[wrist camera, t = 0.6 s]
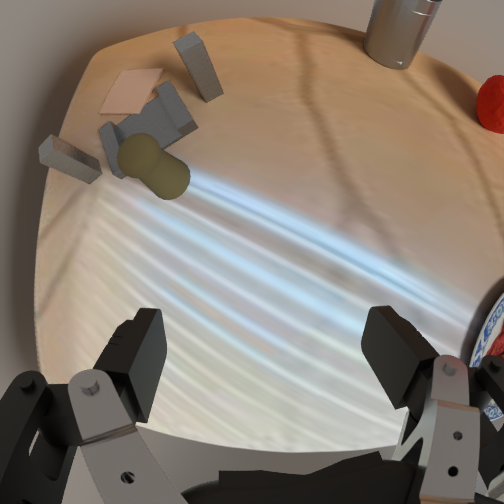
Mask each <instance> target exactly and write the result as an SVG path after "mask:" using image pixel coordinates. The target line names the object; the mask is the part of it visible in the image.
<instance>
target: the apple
mask: <svg viewBox="0 0 504 504" xmlns="http://www.w3.org/2000/svg"><path fill="white" fill-rule="evenodd" d="M476 109H477V116H478V119H479V121H480V123H481V124H482V125H483V126H484V127H485V128H486V129H488V130H490V131H492V132H495V133H500V134H504V76H502V75H495V76H492V77H490V78H488V80H487V81H486V82H485V83H484V84H483V85H482V87H481V88H480V90H479V93H478V96H477V104H476Z"/></svg>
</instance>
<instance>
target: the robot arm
mask: <svg viewBox="0 0 504 504" xmlns="http://www.w3.org/2000/svg"><path fill="white" fill-rule="evenodd" d="M441 2H442V0H375V2H374V6H373V9H372V14H371V17H370V21H369V25H368V28H367V32H366V35H365V39H364V44H363V45H364V49H365V51H366V52H367V53H368V55H369V56H370V57H371V58H373V59H374V60H375V61H377V62H378V63H380V64H382V65H384V66H386V67H389V68H393V69H406V68H408V67H409V66H410V65H411V63H412V61H413V59H414V57H415V55H416V53H417V51H418V50H419V47H420V46H421V44H422V42H423V40H424V38H425V36H426V34H427V32H428V30H429V28H430V26H431V23H432V21H433V19H434V17H435V15H436V13H437V11H438V8H439V6H440V4H441ZM361 348H362V352H363V354H364V356H365V358H366V359H367V361H368V363H369V364H370V366H371V368H372V370H373V371H374V373H375V375H376V376H377V378H378V380H379V382H380V383H381V385H382V387H383V389H384V390H385V392H386V394H387V396H388V397H389V399H390V401H391V403H392V405H393V406H394V408H395V410H396V409H399V408H403V407H406V406H407V407H408V409H409V410H408V411H407V413H406V415H405V419H404V422H403V426H402V430H401V433H400V437H399V440H398V444H397V447H396V450H395V453H394V455H393V457H392V459H391V460H382V458H381V455H380V453H379V451H377V452H373V453H369V454H365V455H361V456H357V457H353V458H349V459H345V460H342V461H340V462H338V463H335V464H333V465H331V466H328V467H326V468H323V469H321V470H319V471H316V472H313V473H311V474H307V475H297V474H286V473H278V472H270V471H262V470H257V471H219V480H215V481H210V482H206V483H202V484H199V485H197V486H194V487H191V488H189V489H187V490H185V491H183V492H182V493H179V491H178V490H177V489H176V487H175V486H174V485H173V484H172V482H171V481H170V480H169V478H168V477H167V475H166V474H165V472H164V471H163V470H162V468H161V467H160V465H159V464H158V462H157V461H156V459H155V458H154V456H153V455H152V453H151V452H150V450H149V448H148V447H147V445H146V443H145V442H144V440H143V439H142V437H141V435H140V433H139V432H138V430H137V428H136V427H135V424H136V422H141V423H147V422H148V418H149V414H150V411H151V407H152V404H153V400H154V397H155V393H156V390H157V386H158V383H159V379H160V376H161V373H162V369H163V366H164V363H165V360H166V355H167V342H166V336H165V330H164V324H163V317H162V312H161V310H160V309H155V308H140V309H139V310H138V312H137V314H136V316H135V317H134V319H133V320H126V321H125V322H124V323H122V324H121V325H119V326H118V327H117V329H116V330H115V332H114V334H113V335H112V337H111V338H110V340H109V342H108V344H107V345H106V347H105V348H104V350H103V352H102V353H101V355H100V357H99V358H98V360H97V362H96V364H95V365H94V367H93V369H89V370H84V371H81V372H79V373H77V374H76V375H75V376H73V377H72V379H71V380H70V382H69V384H48V383H47V381H46V379H45V377H44V376H43V375H42V374H41V373H40V372H37V371H26V372H23V373H21V374H19V375H18V376H17V377H16V378H15V379H14V380H13V381H12V383H11V384H10V386H9V387H8V389H7V390H6V392H5V394H4V395H3V397H2V398H1V400H0V504H61V503H62V499H63V495H64V490H65V487H66V483H67V479H68V476H69V473H70V469H71V466H72V462H73V459H74V456H75V453H76V449H77V447H78V446H80V448H81V451H82V454H83V457H84V459H85V462H86V464H87V467H88V469H89V471H90V474H91V476H92V479H93V481H94V483H95V485H96V487H97V490H98V492H99V494H100V496H101V498H102V500H103V502H104V504H504V424H503V426H502V428H501V429H500V430H499V431H498V432H497V430H496V429H495V427H494V425H493V424H492V422H491V421H490V419H489V418H488V416H487V415H486V413H485V412H484V410H485V409H486V407H487V406H488V404H489V403H490V401H491V400H492V399H493V400H494V402H495V403H496V404H497V406H498V407H499V409H500V410H501V412H502V413H503V415H504V360H503V359H501V358H500V357H498V356H495V355H485V356H484V357H483V358H482V360H481V362H480V364H479V366H478V367H466V365H465V364H464V363H463V362H462V361H461V360H460V359H458V358H457V357H454V356H451V355H441V356H440V355H439V354H438V352H437V351H436V350H435V349H434V348H433V347H432V346H431V345H430V343H429V342H428V341H427V340H426V339H425V338H424V337H422V335H421V334H420V332H419V331H417V329H416V328H415V327H414V326H413V325H412V324H411V323H410V322H409V321H407V320H406V319H404V318H402V317H401V316H399V315H398V314H397V313H396V312H395V311H394V309H393V308H392V307H391V306H388V305H387V306H375V307H371V308H370V310H369V313H368V317H367V321H366V325H365V328H364V332H363V336H362V340H361ZM37 430H38V431H39V435H38V437H37V439H36V442H35V444H34V446H33V449H32V451H31V454H30V456H29V448H30V446H31V443H32V441H33V439H34V436H35V434H36V432H37ZM478 471H479V472H480V475H481V476H482V479H483V481H484V483H485V485H486V487H487V490H488V493H487V494H486V495H485V496H484V495H481V494H479V493H476V492H475V488H476V481H477V472H478Z"/></svg>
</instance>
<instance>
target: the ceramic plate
mask: <svg viewBox="0 0 504 504" xmlns="http://www.w3.org/2000/svg"><path fill="white" fill-rule="evenodd" d="M485 355H495V356H498V357H500V358H501V359H503V360H504V293H503V294H502V295H501V296H500V297H499V299H498V300H497V302H496V303H495V305H494V306H493V308H492V309H491V311H490V313H489V315H488V317H487V318H486V320H485V323H484V325H483V327H482V329H481V331H480V334H479V336H478V339H477V341H476V344H475V347H474V350H473V353H472V357H471V361H470V365H469V367H478V366H479V364H480V362H481V360H482V358H483V357H484V356H485ZM484 412H485V413H486V415H487V416H488V418H489V419H490V421H492V420H495V419H498V418H500V417H502V416H503V413H502V412H501V410H500V409H499V407H498V406H497V404H496V403H495V402H494V400H493V399H492V400H491V401H490V403H489V404H488V406H487V407H486V409H485V410H484Z"/></svg>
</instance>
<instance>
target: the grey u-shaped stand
mask: <svg viewBox="0 0 504 504" xmlns="http://www.w3.org/2000/svg"><path fill="white" fill-rule="evenodd" d="M172 43H173V44H174V46H175V48H176V50H177V52H178V53H179V55H180V57H181V59H182V61H183V63H184V64H185V66H186V68H187V70H188V72H189V74H190V76H191V77H192V79H193V81H194V83H195V85H196V87H197V89H198V91H199V92H200V94H201V95H202V97H203V98H204V100H205V101H206V103H207V102H209V101H211V100H213V99H214V98H216V97H218V96H220V95H222V94H224V93H223V90H222V87H221V85H220V82H219V80H218V77H217V75H216V72H215V70H214V67H213V65H212V62H211V60H210V57H209V55H208V53H207V50H206V48H205V45H204V43H203V41H202V40H201V39H200V38H199V36H198V35H197V34H196V33H195V32H194V31H193V32H191V33H189V34H187V35H185V36H183V37H182V38H180V39H178V40H176V41H174V42H172ZM156 90H157V92H158V94H159V96H158V97H157V98H155V99H154V100H152V101H151V102H149V103H148V104H146V105H145V106H143V108H142V110H141V112H140V114H132V115H130V116H129V117H128V118H126V119H125V120H124V121H122V122H121V123H120V124H118V125H117V126H116V125H115V124H114V123H112V122H111V121H109V122H108V123H107V124H106V125H104V126H103V127H102V128H101V129H99V132H100V136H101V139H102V142H103V146H104V149H105V152H106V155H107V158H108V161H109V164H110V167H111V170H112V173H113V175H115V176H117V177H118V178H120V179H123V178H124V177H126V176H127V175H125V174H124V173H123V172H122V171H121V170H120V168H119V166H118V163H117V153H118V150H119V148H120V146H121V144H122V143H123V142H124V141H125V139H127V138H128V137H129V136H131V135H134V134H137V133H145V134H149V135H151V136H152V137H154V138H155V139H156V140H157V141H158V143H159V146H160V148H161V149H162V150H164V149H165V148H167V147H168V146H170V145H171V144H173V143H175V142H176V141H178V140H179V139H181V138H183V137H184V136H186V135H187V134H189V133H191V132H192V131H194V130H196V129H197V128H198V126H197V125H196V123H195V121H194V120H193V118H192V116H191V115H190V113H189V111H188V110H187V108H186V106H185V105H184V103H183V101H182V100H181V98H180V96H179V95H178V93H177V91H176V90H175V88H174V86H173V85H172V83H171V82H170V80H169V81H167V82H166V83H164V84H162V85H161V86H159V87H158V88H156ZM38 149H39V159H40V163H42V164H44V165H47V166H49V167H51V168H53V169H56V170H58V171H60V172H63V173H65V174H67V175H70V176H72V177H74V178H77V179H79V180H81V181H84V182H86V183H88V184H91V183H92V182H93V181H94V180H95V179H96V178H98V177H99V176H100V175H101V174H102V171H101V168H100V164H99V161H98V160H97V159H95V158H93V157H91V156H90V155H88V154H86V153H84V152H83V151H81V150H79V149H77V148H76V147H74V146H72V145H70V144H69V143H67V142H65V141H63V140H61V139H60V138H58V137H56V136H54V135H52V134H51V135H50V136H49V137H48V138H47V139H46V140H45V141H44V142H43V143H42V144H41V145H40V146H39V148H38Z"/></svg>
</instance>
